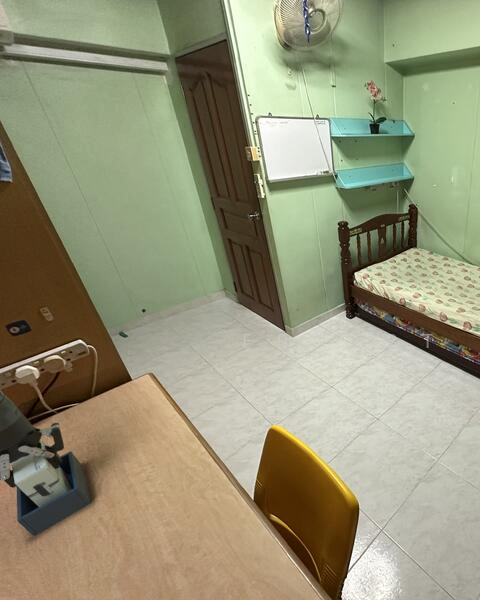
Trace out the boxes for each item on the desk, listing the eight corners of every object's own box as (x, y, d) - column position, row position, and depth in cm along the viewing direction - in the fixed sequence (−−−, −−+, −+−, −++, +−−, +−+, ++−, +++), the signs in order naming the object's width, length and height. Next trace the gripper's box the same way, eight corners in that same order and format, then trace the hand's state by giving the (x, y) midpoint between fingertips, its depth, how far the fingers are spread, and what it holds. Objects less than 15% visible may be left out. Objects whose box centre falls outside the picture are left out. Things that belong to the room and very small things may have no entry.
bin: (34, 537, 66) (17, 521, 63) (32, 493, 74) (16, 477, 71) (91, 503, 72) (78, 487, 69) (83, 467, 80) (71, 450, 77)
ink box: (38, 490, 73) (9, 458, 67) (67, 474, 76) (41, 443, 71) (44, 515, 68) (13, 483, 63) (75, 497, 72) (48, 465, 66)
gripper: (42, 392, 67) (80, 443, 76) (-67, 434, 58) (-10, 487, 66) (45, 411, 63) (85, 463, 71) (-73, 460, 54) (-11, 513, 62)
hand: (39, 474), depth 69 cm, fingers closed on ink box, 5 cm apart
